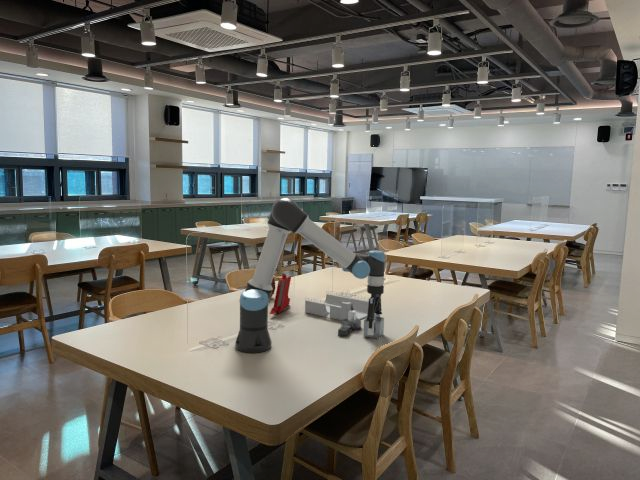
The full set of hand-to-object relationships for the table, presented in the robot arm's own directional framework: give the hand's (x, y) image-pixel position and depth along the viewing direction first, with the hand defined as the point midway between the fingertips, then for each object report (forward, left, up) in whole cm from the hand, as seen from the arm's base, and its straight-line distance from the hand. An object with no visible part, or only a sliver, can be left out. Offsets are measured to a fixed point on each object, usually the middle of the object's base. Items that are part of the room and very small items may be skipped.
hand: (373, 331), depth 219 cm
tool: (+16, +56, -5) cm, 58 cm away
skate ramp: (+27, +27, -2) cm, 38 cm away
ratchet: (+8, +13, -2) cm, 15 cm away
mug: (+39, +77, -2) cm, 86 cm away
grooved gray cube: (0, 0, -2) cm, 2 cm away
